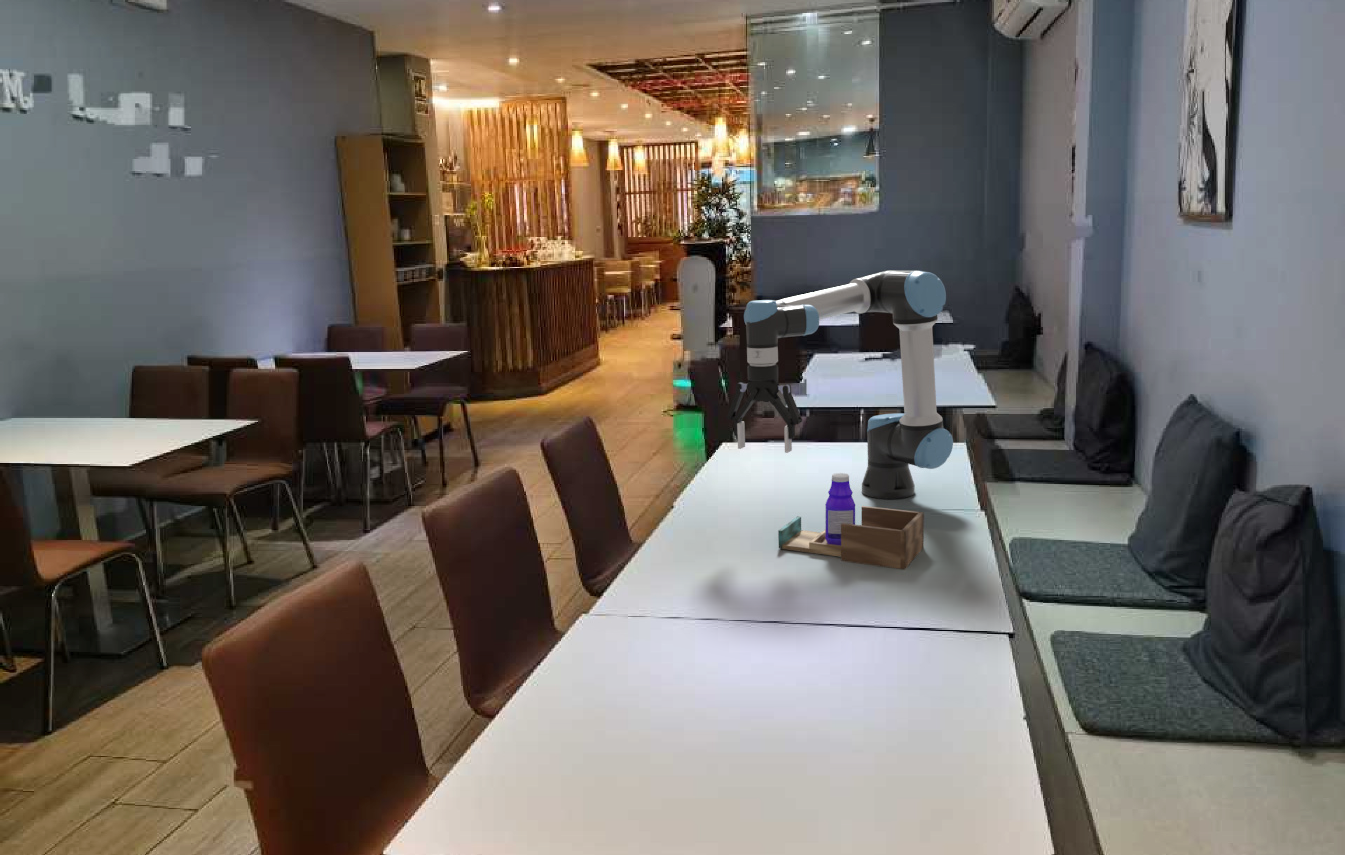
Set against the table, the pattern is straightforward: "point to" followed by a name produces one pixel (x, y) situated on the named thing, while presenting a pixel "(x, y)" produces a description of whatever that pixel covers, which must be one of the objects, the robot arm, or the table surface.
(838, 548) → the tray
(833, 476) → the bottle
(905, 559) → the housing
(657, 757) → the table surface
